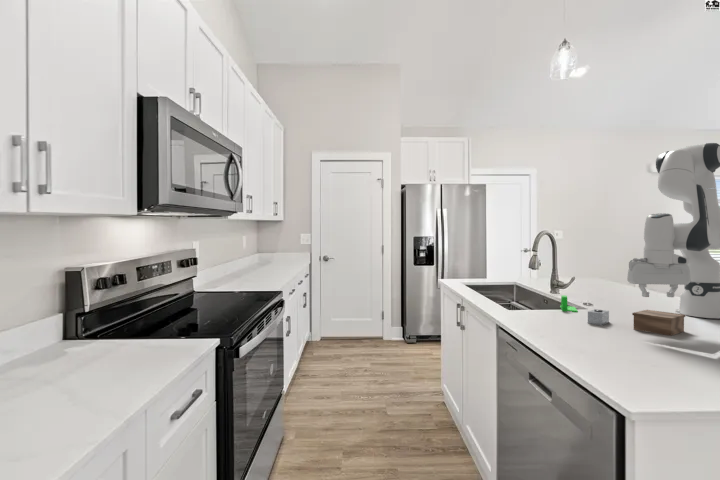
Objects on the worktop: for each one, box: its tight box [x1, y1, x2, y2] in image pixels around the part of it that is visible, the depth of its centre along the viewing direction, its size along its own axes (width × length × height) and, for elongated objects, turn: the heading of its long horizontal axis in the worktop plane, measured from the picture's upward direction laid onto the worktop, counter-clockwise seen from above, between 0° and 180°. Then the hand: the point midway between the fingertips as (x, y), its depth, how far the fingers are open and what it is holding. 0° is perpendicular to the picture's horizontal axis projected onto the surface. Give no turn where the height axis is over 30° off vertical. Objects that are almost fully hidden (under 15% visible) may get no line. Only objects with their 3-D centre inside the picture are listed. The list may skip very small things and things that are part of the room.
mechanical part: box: [559, 294, 579, 313], centre depth 182 cm, size 12×6×8 cm, turn 158°
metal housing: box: [587, 308, 610, 326], centre depth 157 cm, size 8×5×5 cm, turn 133°
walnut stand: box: [631, 309, 686, 337], centre depth 146 cm, size 12×12×6 cm
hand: (658, 296), depth 146 cm, fingers open, 7 cm apart
